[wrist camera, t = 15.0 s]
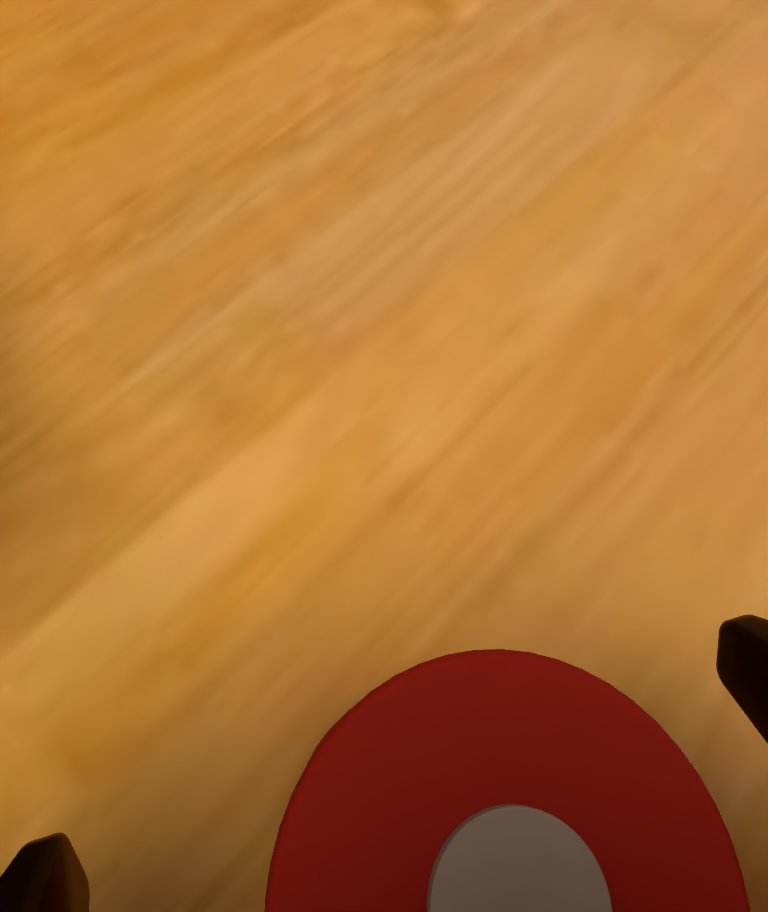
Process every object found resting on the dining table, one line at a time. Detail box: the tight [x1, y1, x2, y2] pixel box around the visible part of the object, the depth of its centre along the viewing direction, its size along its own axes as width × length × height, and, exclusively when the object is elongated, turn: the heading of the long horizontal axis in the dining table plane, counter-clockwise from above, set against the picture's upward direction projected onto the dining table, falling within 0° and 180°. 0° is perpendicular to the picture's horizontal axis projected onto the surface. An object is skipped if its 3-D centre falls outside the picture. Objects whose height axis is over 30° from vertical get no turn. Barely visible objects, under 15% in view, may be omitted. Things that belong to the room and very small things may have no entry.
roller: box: [265, 649, 750, 912], centre depth 9 cm, size 4×4×8 cm
